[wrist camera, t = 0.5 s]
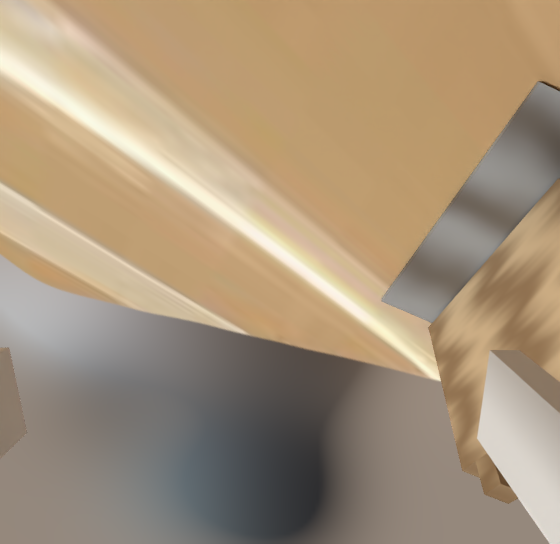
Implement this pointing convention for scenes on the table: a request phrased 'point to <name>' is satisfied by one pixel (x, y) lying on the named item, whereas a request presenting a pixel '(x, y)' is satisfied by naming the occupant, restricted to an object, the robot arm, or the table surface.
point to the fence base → (484, 208)
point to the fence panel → (501, 328)
